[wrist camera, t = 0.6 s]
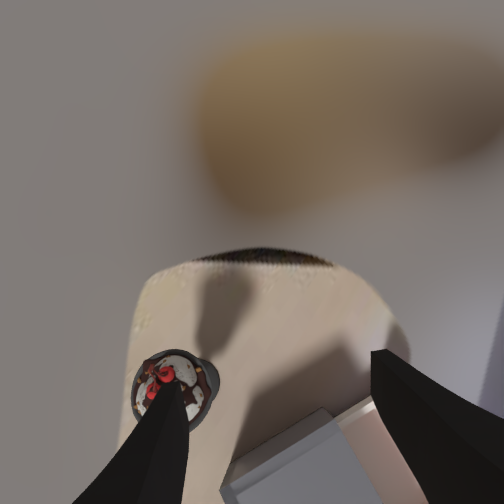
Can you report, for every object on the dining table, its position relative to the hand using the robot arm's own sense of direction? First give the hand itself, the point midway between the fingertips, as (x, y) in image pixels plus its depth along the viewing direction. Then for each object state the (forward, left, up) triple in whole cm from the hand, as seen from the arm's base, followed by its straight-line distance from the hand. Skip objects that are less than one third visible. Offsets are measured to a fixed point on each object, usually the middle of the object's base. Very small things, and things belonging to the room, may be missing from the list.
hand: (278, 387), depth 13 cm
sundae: (+3, +8, -26) cm, 28 cm away
